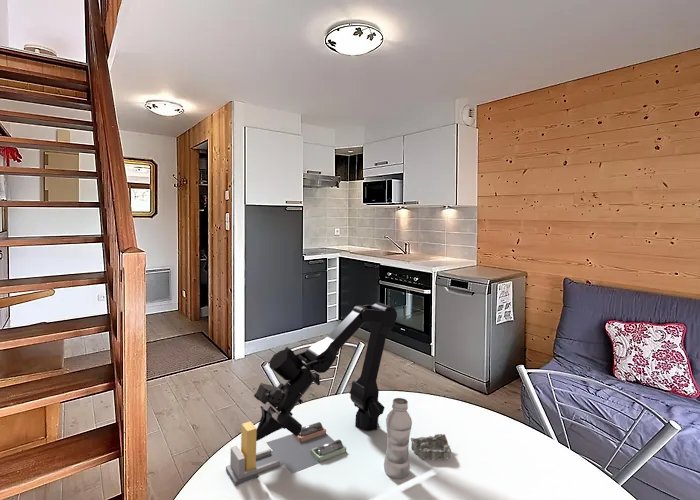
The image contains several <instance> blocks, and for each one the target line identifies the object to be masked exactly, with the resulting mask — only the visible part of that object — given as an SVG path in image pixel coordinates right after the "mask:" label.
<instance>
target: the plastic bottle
mask: <svg viewBox="0 0 700 500" xmlns="http://www.w3.org/2000/svg"><path fill="white" fill-rule="evenodd" d="M408 403H409V402H408V400H407V399H405V398H403V397H396V398H393V400H392V404H391V405H392V406H391V408H392V409H391V410H390V412H388V414H387V416H386V419H385V424H386V436H387V437H386V438H387V439H386V442H387V443H386V453H385V456H384V461H383V469H384V472H385V473H386V475H387V476H388V477H390V478H391V479H396V480H402V479H405V478H407V477H408V476H409V473H410V469H411V465H410V454H409V445H410V444H409V443H410V436H411V432H412V431H411V430H412V425H413V419H412V417H411V415H410V413H409V411H408V410H409V409H408V408H409V405H408Z"/></svg>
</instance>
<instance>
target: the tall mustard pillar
mask: <svg viewBox="0 0 700 500" xmlns="http://www.w3.org/2000/svg"><path fill="white" fill-rule="evenodd" d="M240 431H241V432H240V433H241V435H240V436H241V437H240V438H241V439H240V441H241V442H240V450H241V452H242V453H243V455H244V457H245V471H248V470H251V469H254V468H256V453H257V441H256V433H257V426H255V425H254V424H253V422H252V421H251V420H250V421H247V422H244V423H241V430H240Z"/></svg>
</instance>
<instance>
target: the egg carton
mask: <svg viewBox="0 0 700 500" xmlns="http://www.w3.org/2000/svg"><path fill="white" fill-rule="evenodd" d="M410 442H411V447H410V449H411V450H412V451H413V454H415V456H417V457H418V458H419V459H421V460H423V459H424V458H428V459H430V460H431V461H435V460H436V459H437V458H440V459H442V460H443V461H448V458H450V457H451V453H452V449H451V446H450V445H449V442H448V439H447V435H446V434H442V433H440V434H439V433H438V434H437V433H436V434H434V435H433V436H432V435H429V436H426V437H424V436H420V437H416V438H415V437H410ZM418 447H419V448H418ZM437 447H440V448H443V450H442V449H437ZM430 448H432V449H430ZM435 448H436V449H435Z"/></svg>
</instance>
